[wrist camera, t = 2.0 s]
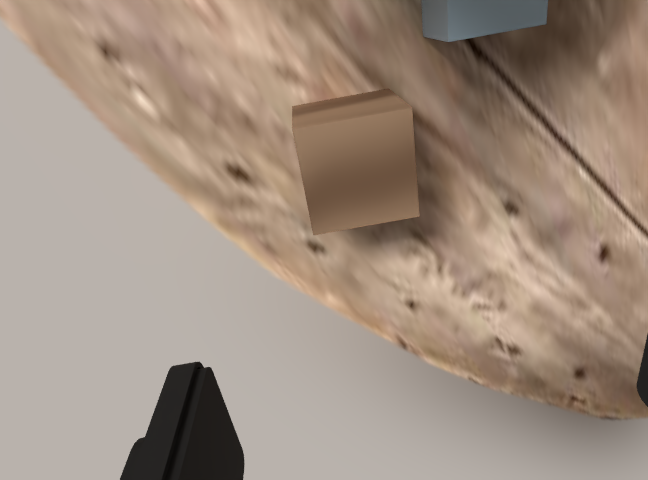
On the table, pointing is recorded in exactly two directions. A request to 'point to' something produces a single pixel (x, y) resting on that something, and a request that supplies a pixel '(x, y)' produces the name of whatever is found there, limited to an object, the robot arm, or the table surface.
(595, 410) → the table surface
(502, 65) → the table surface
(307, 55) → the table surface
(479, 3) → the slate block
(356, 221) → the walnut block
